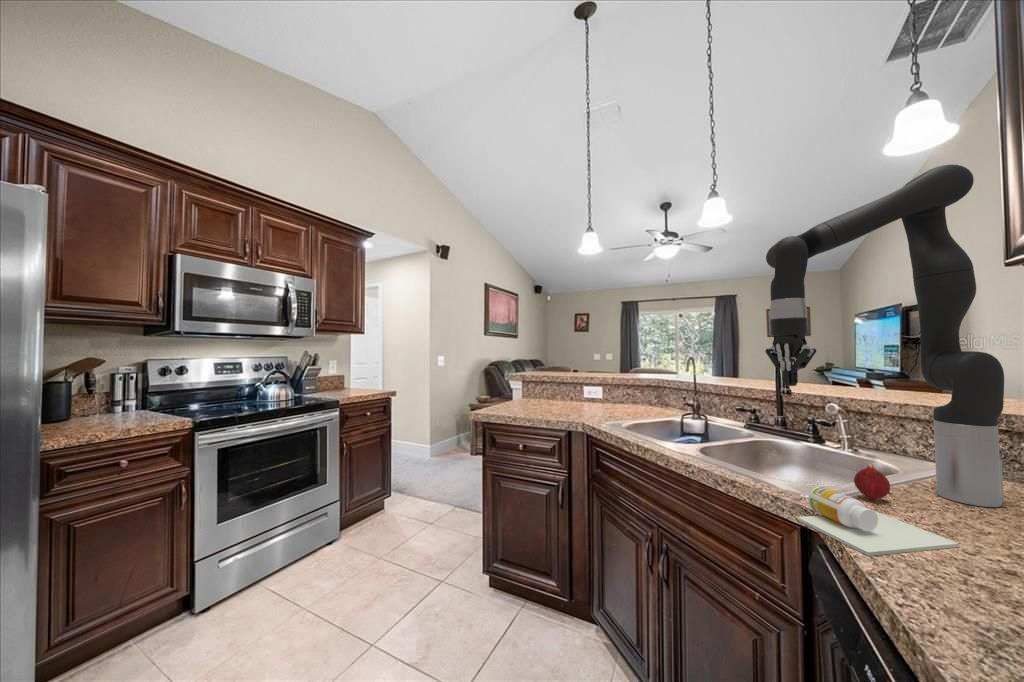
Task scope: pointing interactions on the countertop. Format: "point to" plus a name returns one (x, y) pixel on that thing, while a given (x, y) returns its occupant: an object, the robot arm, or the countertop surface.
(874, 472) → the onion
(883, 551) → the mat
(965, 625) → the countertop surface
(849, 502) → the supplement bottle
